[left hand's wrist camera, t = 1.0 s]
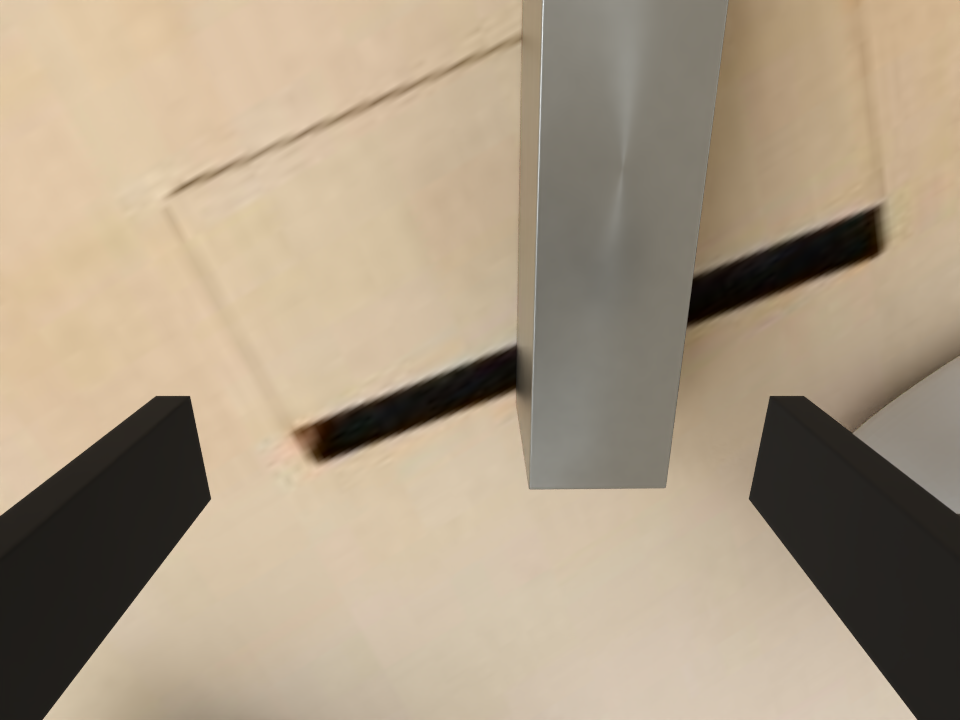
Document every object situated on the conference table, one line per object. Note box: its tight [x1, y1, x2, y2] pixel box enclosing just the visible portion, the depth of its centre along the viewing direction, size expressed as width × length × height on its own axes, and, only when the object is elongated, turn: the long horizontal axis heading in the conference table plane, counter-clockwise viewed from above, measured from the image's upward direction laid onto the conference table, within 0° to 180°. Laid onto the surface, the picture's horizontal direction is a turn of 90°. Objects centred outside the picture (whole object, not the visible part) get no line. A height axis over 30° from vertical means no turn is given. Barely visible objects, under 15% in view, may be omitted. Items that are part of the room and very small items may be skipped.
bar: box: [516, 0, 729, 489], centre depth 22 cm, size 25×6×8 cm, turn 1°
